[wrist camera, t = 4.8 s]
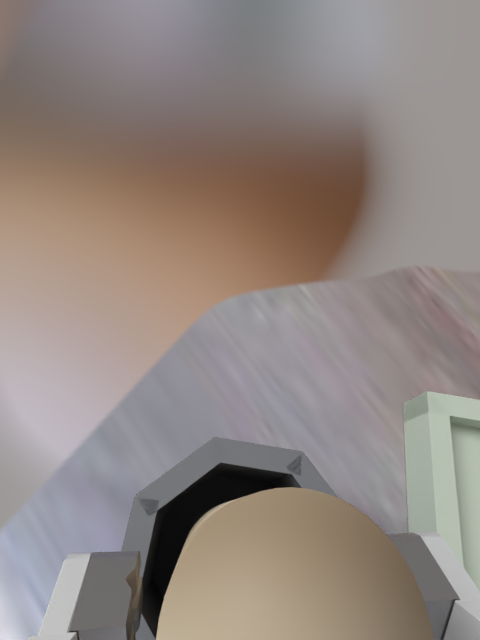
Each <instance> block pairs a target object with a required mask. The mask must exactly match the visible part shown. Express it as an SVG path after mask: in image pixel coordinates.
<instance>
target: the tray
mask: <svg viewBox="0 0 480 640" xmlns="http://www.w3.org/2000/svg"><path fill="white" fill-rule="evenodd" d="M403 411H404V434H405V458H406V482H407V505H408V529H409V533H418V532H434V531H436V532H437V533H439V534H440V535H441V536H442V537H443V539H444V540H445V542H446V543H447V545H448V546H449V547H450V549H451V550H452V552H453V553H454V555H455V556H456V557H457V559H458V560H459V562H460V563H461V565H462V566H463V567H464V569H465V570H466V572H467V573H468V574H469V576H470V577H471V579H472V580H473V582H474V583H475V584H476V586H477V587H478V589H479V590H480V400H476V399H470V398H464V397H459V396H453V395H447V394H441V393H435V392H429V391H426V392H424V393H422V394H420V395H419V396H417V397H415V398H413V399H411V400H409V401H407V402H405V403H403Z"/></svg>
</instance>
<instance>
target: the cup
mask: <svg viewBox="0 0 480 640" xmlns="http://www.w3.org/2000/svg"><path fill="white" fill-rule="evenodd" d="M287 487H295V488H306V489H311V490H316V491H320V492H324V493H327V494H329V495H332V496H334V497H337V496H336V494H335V493H334V492H333V490H332V489H331V488H330V486H329V485H328V484H327V482H326V481H325V480H324V479H323V477H322V476H321V475H320V473H319V472H318V471H317V469H316V468H315V467H314V465H313V464H312V463H311V461H310V460H309V459H308V457H307V456H306V455H305V454H304V452H303V453H302V451H296V450H290V449H284V448H278V447H272V446H266V445H260V444H254V443H248V442H242V441H236V440H230V439H224V438H218V437H215V438H213V439H211V440H210V441H208V442H207V443H206V444H204V445H203V446H202V447H200V448H199V449H198V450H196V451H195V452H193V453H192V454H191V455H189V456H188V457H187V458H185V459H184V460H183V461H181V462H180V463H179V464H177V465H176V466H174V467H173V468H172V469H170V470H169V471H168V472H166V473H165V474H164V475H162V476H161V477H159V478H158V479H157V480H155V481H154V482H153V483H151V484H150V485H149V486H147V487H146V488H145V489H143V490H142V491H140V492H139V493H138V494H136V497H134V501H133V505H132V509H131V513H130V518H129V522H128V526H127V530H126V534H125V538H124V542H123V546H122V551H140V556H141V567H140V574H139V575H140V576H141V577H142V609H141V619H140V628H139V629H138V631H137V632H136V633H135V638H136V640H156V636H157V629H158V622H159V616H160V612H161V608H162V604H163V600H164V596H165V594H166V591H167V588H168V585H169V583H170V580H171V577H172V575H173V572H174V569H175V567H176V564H177V562H178V559H179V557H180V554H181V552H182V549H183V546H184V544H185V541H186V539H187V536H188V534H189V532H190V530H191V528H192V526H193V525H194V523H195V522H196V521H197V519H198V518H199V517H200V516H201V515H202V514H203V513H205V512H206V511H207V510H209V509H210V508H212V507H214V506H217V505H219V504H222V503H226V502H229V501H232V500H235V499H238V498H241V497H244V496H248V495H251V494H254V493H257V492H260V491H264V490H269V489H274V488H287ZM337 498H338V497H337Z"/></svg>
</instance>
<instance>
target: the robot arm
mask: <svg viewBox="0 0 480 640" xmlns="http://www.w3.org/2000/svg"><path fill="white" fill-rule="evenodd" d="M386 535H387V536H388V537H389V539H390V540H391V541H392V542H393V543H394V545H395V546H396V548H397V549H398V550H399V552H400V553H401V555H402V556H403V558H404V559H405V561H406V563H407V565H408V566H409V568H410V570H411V572H412V574H413V575H414V577H415V580H416V582H417V584H418V587H419V589H420V592H421V594H422V596H423V599H424V603H425V606H426V609H427V612H428V615H429V619H430V624H431V629H432V633H433V638H434V640H480V590H479V589H478V587H477V586H476V584H475V583H474V582H473V580H472V579H471V577H470V576H469V574H468V573H467V572H466V570H465V569H464V567H463V566H462V565H461V563H460V562H459V560H458V559H457V557H456V556H455V555H454V553H453V552H452V550H451V549H450V547H449V546H448V545H447V543H446V542H445V540H444V539H443V537H442V536H441V535H440V534H439V533H437V532H436V531H434V532H418V533H399V534H386ZM140 567H141V556H140V551H120V552H93V553H74V554H69V555H68V556H67V558H66V559H65V561H64V563H63V566H62V568H61V571H60V574H59V577H58V580H57V583H56V585H55V588H54V591H53V594H52V597H51V600H50V602H49V605H48V608H47V611H46V614H45V617H44V619H43V622H42V625H41V628H40V631H39V633H38V635H33V636H29V637H28V639H27V640H136V638H135V633H136V632H137V631H138V629H139V628H140V619H141V609H142V577H141V576H140V575H139V574H140Z"/></svg>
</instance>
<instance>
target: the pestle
mask: <svg viewBox="0 0 480 640" xmlns="http://www.w3.org/2000/svg"><path fill="white" fill-rule="evenodd" d="M156 640H434V638H433V633H432V629H431V624H430V619H429V615H428V612H427V609H426V606H425V603H424V599H423V596H422V594H421V592H420V589H419V587H418V584H417V582H416V580H415V577H414V575H413V574H412V572H411V570H410V568H409V566H408V565H407V563H406V561H405V559H404V558H403V556H402V555H401V553H400V552H399V550H398V549H397V548H396V546H395V545H394V543H393V542H392V541H391V540H390V539H389V537H388V536H387V535H386V534H385V533H384V532H383V531H382V529H381V528H380V527H379V526H377V525H376V524H375V523H374V522H373V521H372V520H371V519H370V518H369V517H368V516H366V515H365V514H364V513H362V512H361V511H359V510H358V509H357V508H355V507H354V506H352V505H350V504H348V503H347V502H345V501H343V500H341V499H339V498H337V497H334V496H332V495H329V494H327V493H324V492H320V491H316V490H311V489H306V488H295V487H287V488H274V489H269V490H264V491H260V492H257V493H254V494H251V495H248V496H244V497H241V498H238V499H235V500H232V501H229V502H226V503H222V504H219V505H217V506H214V507H212V508H210V509H209V510H207V511H206V512H205V513H203V514H202V515H201V516H200V517H199V518H198V519H197V521H196V522H195V523H194V525H193V526H192V528H191V530H190V532H189V534H188V536H187V539H186V541H185V544H184V546H183V549H182V552H181V554H180V557H179V559H178V562H177V564H176V567H175V569H174V572H173V575H172V577H171V580H170V583H169V585H168V588H167V591H166V594H165V596H164V600H163V604H162V608H161V612H160V616H159V622H158V629H157V636H156Z"/></svg>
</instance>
